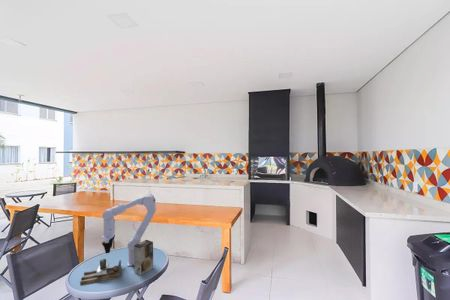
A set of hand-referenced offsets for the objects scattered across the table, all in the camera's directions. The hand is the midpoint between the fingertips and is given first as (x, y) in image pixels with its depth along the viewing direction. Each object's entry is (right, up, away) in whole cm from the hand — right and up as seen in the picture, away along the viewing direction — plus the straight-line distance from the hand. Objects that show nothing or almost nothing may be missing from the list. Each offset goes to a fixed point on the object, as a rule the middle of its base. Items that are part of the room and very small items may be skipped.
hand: (108, 250), depth 134 cm
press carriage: (+3, -6, -12) cm, 14 cm away
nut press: (+3, -9, -12) cm, 15 cm away
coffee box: (+25, -9, -6) cm, 27 cm away
